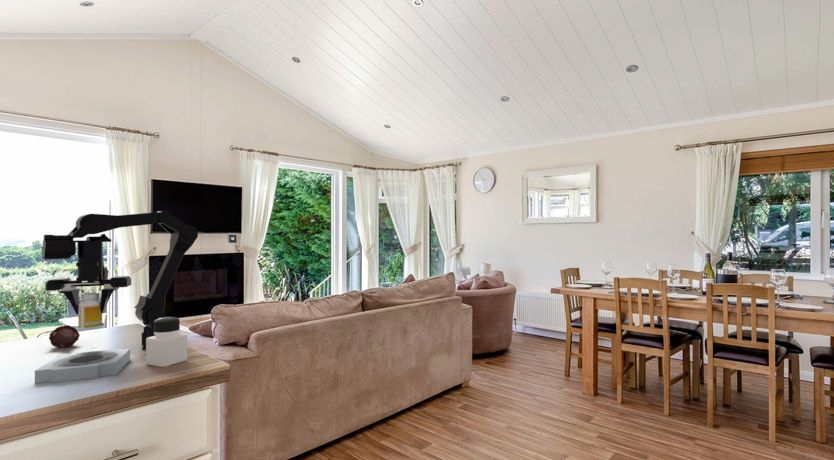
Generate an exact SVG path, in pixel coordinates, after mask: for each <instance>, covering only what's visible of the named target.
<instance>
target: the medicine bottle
mask: <svg viewBox="0 0 834 460" xmlns="http://www.w3.org/2000/svg"><path fill="white" fill-rule="evenodd" d="M180 322H181V321H180V318H178V317H175V316H167V317H164V318H159V319H157V320H155V321H154V335H155V336H152V337H148V338H146V349H145V364H146V365H149V366H155V367H159V368H165V367H169V366H173V365H175V364H179V363H182V362H186V361H187V360H188V334H184V333H180V331H181V330H180V327H181V326H180Z"/></svg>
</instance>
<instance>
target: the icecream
mask: <svg viewBox="0 0 834 460" xmlns="http://www.w3.org/2000/svg"><path fill="white" fill-rule="evenodd" d="M80 335H81V334H80V332H79V331H78V329H77V328H76V327H74V326H71V325H68V324H65V325H61V326H57V327H56V328H55V329H54V330H53V331H51V332H50V333H49V337H48V339H49V341H50V344H51V346H53V347H56V348H60V349H64V348H63V347H65V348H70V347H72V346H73V345H74V344H75V343H76V342H77V341H79V338H80ZM69 346H70V347H69Z"/></svg>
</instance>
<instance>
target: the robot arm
mask: <svg viewBox="0 0 834 460" xmlns="http://www.w3.org/2000/svg"><path fill="white" fill-rule="evenodd" d="M157 224H158V225H159V226H161V227H162V228H163V229H164V230H165V231H166V232H168V234H170V235H171V236H170V240H169V249H168V252H167V254H166V257H165V259H164V261H163V263H162V265H161V267H160V270H159V272H158V274H157V276H156V278H155V280H154V282H153V285H152V287H151V289H150V290H149V292H148V294H146V295H140V296H139V298H138V302H137V304H136V305H135V306H134V309H135V316H136V318H137V319H138V320H139V321H141V322H142V324H143V326H144V327H143V331H142V332H141V349H142V350H146V338H148V337H152V336H155V335H154V321H155V320H157V319H159V318H164V317H168V316H167V315H166V314H164V311H165V308H166V296H167V293H168V291H169V289H170V287H171V284H172V282H173V280H174V278H175V275H176V273H177V271H178V269H179V267H180V264H181V262H182V260H183V258H184V255H185V254H186V253H187V251H189V249H190V248H191V247H192V246H193V244H194V243H195V242H196V240H197V238H198V237H199V231H198V229H197V228H196V227H195V226H193V225H192V224H187V223H185V222H184V221H182V220H181V219H179V218H177V217H175V216H174V215H172V214H171V213H170V212H169V211H167V210H160V211H159V210H158V211H155V212H145V213H144V212H143V213H133V214H132V213H131V214H130V213H129V214H121V215H115V214H113V215H111V214H103V213H101V214H100V213H88V214H83V215H81V216H79V217H78V218H77V219H76V222H75V227H74V228H73V229H72V230H71V231H69V233H68V234H65V235H55V234H44V235H43V239H42V240H43V241H42V246H41V257H42V258H41V260H42V261H52V260H53V261H56V260H57V261H59V260H70V259H71V257H72V256H76V252H77V262H76V263H75V266H76V267H77V277H75V279H76V280H71V278H70V277H68V278H67V277H62V278H61V277H60V278H53V279H48V280H47V281H46V282H45V287H44V288H45V289H44V290H45V291H47V292H48V291H59V294H63V295H64V296H65V298H66V299H67V300H68V302H69V303H70V304H71V307H72V308H73V311H74V312H75V314H76V315H77V316H78V306H79V303H80V296H79V295H80V290H81V287H102V286H103V287H104V288H102V289H101V291H100V292H101V293H100V301H101V313H102V314H104V313H105V310H106V308H107V305H108V303H109V300H110V298H111V296H112V294H113V293H114V292H115V291H116V290H118V289H120V288H127V287H128V288H129V286H131V285H132V277H131V276H130V275H122V276H121V275H119V276H112V277H110V278H109V269H107V267H106V266H105V263H104V258H103V257H104V255H103V253H104V250H103V249H104V244H103V243H110V242H112V239H111V238H109V237H108V236H107V234H105V232H108V231H112V230H115V229H119V228H127V227H136V226H138V227H139V226H148V225H157ZM101 233H102V234H101ZM97 234H100V235H99V236H97ZM89 235H94V236H89ZM86 236H87V237H86ZM84 237H86V239H85V240H81V239H82V238H84ZM78 238H79V239H80V240H74V239H78ZM76 250H77V251H76Z"/></svg>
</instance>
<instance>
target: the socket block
mask: <svg viewBox="0 0 834 460" xmlns="http://www.w3.org/2000/svg"><path fill="white" fill-rule="evenodd" d="M130 360H131V348H125V349H124V348H123V349H116V348H115V349H103V350H96V351H95V350H93V351H91V350H90V351H82V352H76V353H72V354H71V353H69V354H59V355H57V356H56V357H53V358H52V359H51V360H49V361H48V362H45V364H43V365H41V366H39V367H38V368H37V369H35V370H34V384H41V383H42V384H43V383H51V384H54V383H55V384H56V383H62V382H63V383H65V382H71V381H81V380H83V381H84V380H92V379H98V378H100V377H107V376H116V375H117V374H118V373H119V372H120V371H121V370H122V369H123V368H124V367H125V366H126V365H127V364H128V362H129V361H130Z"/></svg>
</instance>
